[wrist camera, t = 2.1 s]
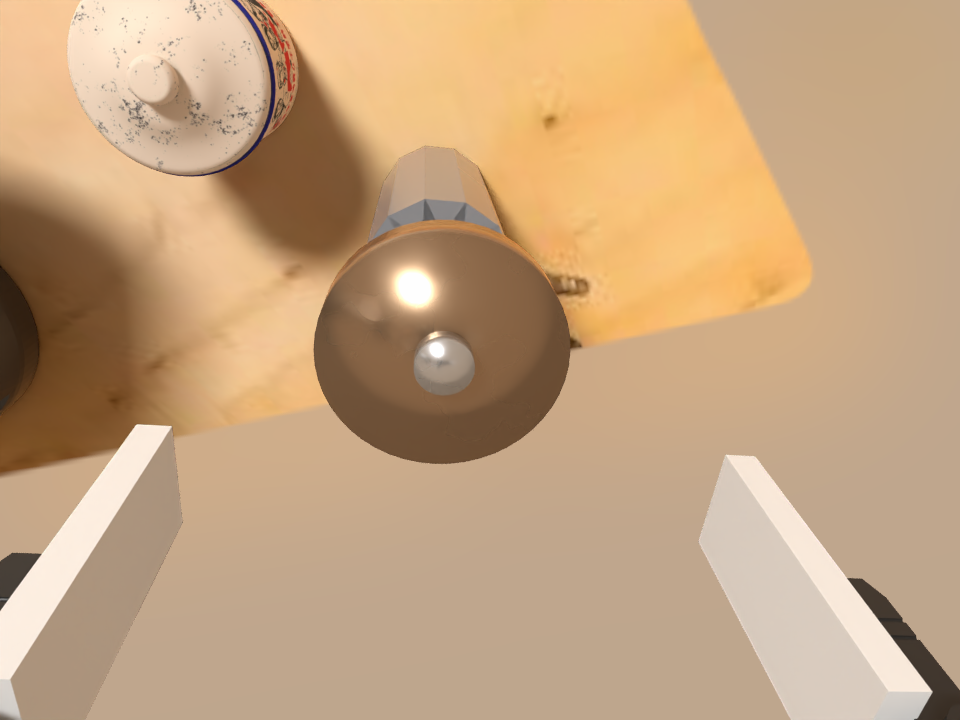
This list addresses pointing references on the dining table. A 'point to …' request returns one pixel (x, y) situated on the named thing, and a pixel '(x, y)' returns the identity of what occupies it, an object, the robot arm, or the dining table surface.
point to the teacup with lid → (182, 78)
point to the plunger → (441, 342)
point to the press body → (433, 192)
